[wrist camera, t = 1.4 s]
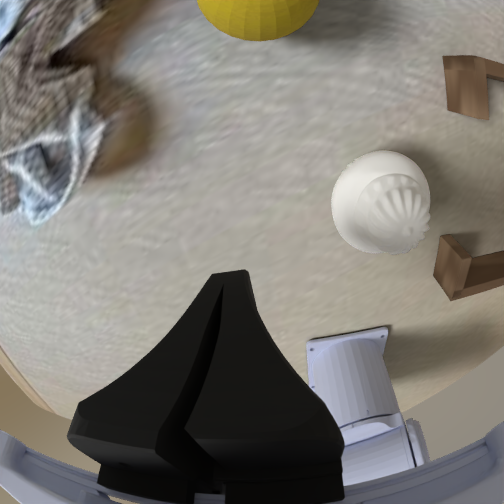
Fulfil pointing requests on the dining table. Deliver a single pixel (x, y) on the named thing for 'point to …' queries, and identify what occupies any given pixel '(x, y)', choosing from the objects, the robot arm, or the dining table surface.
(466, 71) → the brown wooden u-shaped frame
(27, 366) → the dining table surface
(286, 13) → the lemon
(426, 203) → the muffin
